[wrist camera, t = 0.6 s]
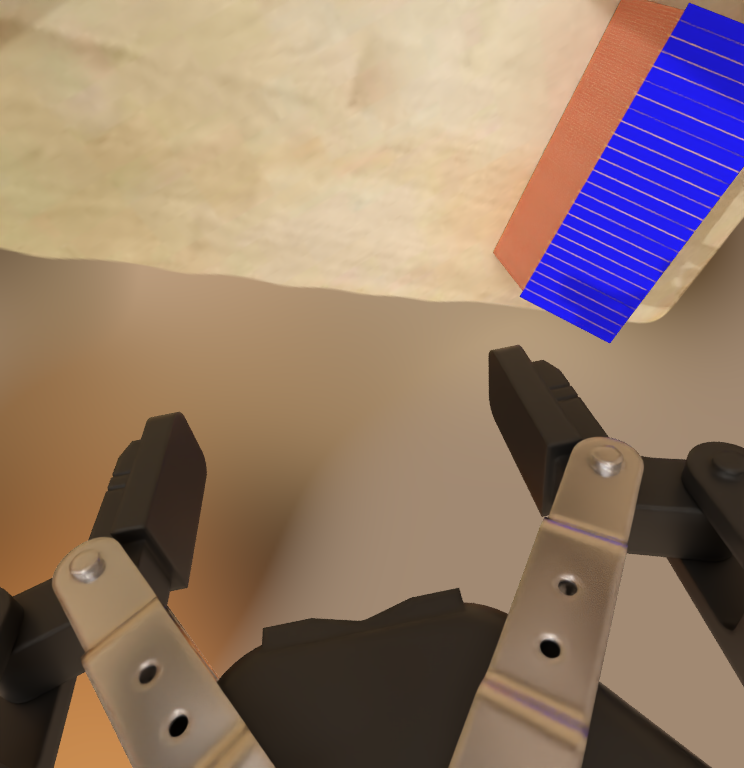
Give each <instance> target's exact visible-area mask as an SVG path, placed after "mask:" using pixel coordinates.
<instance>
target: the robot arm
mask: <svg viewBox="0 0 744 768" xmlns="http://www.w3.org/2000/svg"><path fill="white" fill-rule="evenodd" d="M489 401H490V406H491V411H492V414H493V417H494V419H495V422H496V424H497V426H498V428H499V430H500V432H501V434H502V436H503V438H504V440H505V442H506V444H507V446H508V448H509V450H510V452H511V455H512V457H513V459H514V461H515V463H516V464H517V467H518V469H519V471H520V473H521V475H522V477H523V479H524V481H525V483H526V485H527V487H528V489H529V491H530V493H531V496H532V497H533V500H534V502H535V504H536V506H537V508H538V510H539V512H540V514H541V516H542V517H543V516H547V515H549V516H548V518H547V517H545V518H544V519H543V521H542V523H541V526H540V528H539V531H538V533H537V536H536V539H535V542H534V545H533V547H532V550H531V553H530V556H529V558H528V561H527V564H526V566H525V569H524V572H523V575H522V578H521V580H520V583H519V586H518V589H517V591H516V594H515V597H514V600H513V602H512V605H511V608H510V611H509V613H508V614H507V613H505V612H502V611H500V610H498V609H495V608H492V607H488V606H485V605H480V604H475V603H464V602H463V600H462V597H461V593H460V590H459V588H456V589H451V590H446V591H441V592H436V593H432V594H427V595H422V596H417V597H412V598H409V599H407V600H405V601H403V602H401V603H399V604H397V605H395V606H393V607H391V608H389V609H387V610H385V611H383V612H381V613H379V614H377V615H375V616H373V617H370V618H368V619H366V620H362V621H351V620H350V621H349V620H333V619H315V618H311V619H305V620H301V621H296V622H291V623H286V624H281V625H276V626H271V627H266V628H263V637H262V638H263V639H262V645H261V646H259V647H257V648H255V649H254V650H252V651H250V652H249V653H247V654H246V655H244V656H243V657H242V658H240V659H239V660H238V661H237V662H235V663H234V664H233V665H232V666H231V667H230V668H229V669H228V670H227V671H226V672H225V673H224V674H223V675H222V676H221V678H219V677H218V675H217V674H216V673H215V671H214V670H213V668H212V667H211V666H210V665H209V663H208V662H207V660H206V659H205V657H204V656H203V655H202V653H201V652H200V651H199V649H198V648H197V646H196V645H195V643H194V642H193V641H192V639H191V638H190V636H189V635H188V634H187V632H186V631H185V629H184V628H183V627H182V625H181V624H180V622H179V621H178V620H177V618H176V617H175V615H174V614H173V613H172V611H171V610H170V609H169V607H168V606H167V602H168V598H169V593H170V591H174V590H178V589H184V588H187V587H188V582H189V576H190V570H191V565H192V559H193V553H194V547H195V540H196V535H197V529H198V523H199V517H200V511H201V506H202V500H203V494H204V488H205V482H206V475H207V474H206V473H207V471H206V462H205V458H204V455H203V452H202V450H201V449H200V447H199V444H198V442H197V441H196V439H195V437H194V435H193V433H192V431H191V429H190V427H189V425H188V423H187V421H186V419H185V417H184V415H183V414H182V413H180V412H176V413H171V414H166V415H161V416H157V417H151V418H149V419H148V420H147V422H146V426H145V428H144V432H143V435H142V438H141V440H136V441H132V442H131V443H130V445H129V446H128V447H127V448H126V449H125V451H124V452H123V453H122V454H121V456H120V457H119V458H118V461H117V464H116V466H115V469H114V472H113V477H112V478H111V480H110V483H109V485H108V491H107V492H106V493H105V496H104V499H103V502H102V504H101V507H100V510H99V513H98V515H97V518H96V521H95V523H94V526H93V529H92V532H91V535H90V537H89V540H88V541H86V542H84V543H82V544H81V545H79V546H77V547H76V548H74V549H73V550H72V551H70V552H69V554H67V555H66V556H65V557H64V558H63V560H62V561H61V562H60V563H59V565H58V566H57V568H56V570H55V572H54V575H53V578H51V579H49V580H47V581H45V582H43V583H41V584H39V585H37V586H34V587H32V588H30V589H28V590H26V591H24V592H22V593H20V594H17V595H15V596H13V597H12V596H11V595H10V594H9V593H8V592H7V591H5V590H4V589H2V588H1V587H0V768H54V764H55V760H56V757H57V753H58V749H59V745H60V741H61V737H62V733H63V729H64V725H65V721H66V717H67V713H68V710H69V706H70V702H71V698H72V694H73V690H74V686H75V682H76V678H77V676H78V675H80V674H82V673H84V672H86V674H87V676H88V677H89V680H90V681H91V683H92V686H93V688H94V690H95V692H96V693H97V696H98V698H99V700H100V702H101V704H102V706H103V708H104V710H105V712H106V714H107V716H108V718H109V720H110V722H111V724H112V726H113V728H114V730H115V732H116V734H117V736H118V738H119V740H120V743H121V745H122V747H123V749H124V751H125V753H126V755H127V757H128V758H129V761H130V763H131V765H132V767H133V768H712V767H710V766H709V765H707V764H706V763H705V762H704V761H702V760H701V759H700V758H698V757H697V756H696V755H695V754H693V753H692V752H690V751H689V750H688V749H687V748H685V747H684V746H683V745H681V744H680V743H679V742H678V741H676V740H675V739H674V738H672V737H671V736H670V735H668V734H667V733H666V732H665V731H663V730H662V729H661V728H659V727H658V726H657V725H655V724H654V723H653V722H651V721H650V720H649V719H648V718H646V717H645V716H644V715H642V714H641V713H640V712H638V711H637V710H636V709H635V708H633V707H632V706H630V705H629V704H628V703H627V702H625V701H624V700H623V699H622V698H620V697H619V696H618V695H616V694H615V693H614V692H612V691H611V690H610V689H609V688H607V687H606V686H605V685H603V684H602V683H601V682H599V679H600V674H601V670H602V665H603V661H604V656H605V651H606V647H607V642H608V637H609V632H610V627H611V623H612V618H613V614H614V609H615V605H616V600H617V595H618V591H619V586H620V581H621V577H622V572H623V567H624V563H625V558H626V553H629V554H639V555H649V556H661V557H667V559H668V561H669V562H670V564H671V566H672V567H673V569H674V571H675V572H676V574H677V576H678V577H679V579H680V581H681V582H682V584H683V586H684V587H685V589H686V591H687V592H688V594H689V596H690V597H691V599H692V601H693V602H694V604H695V606H696V608H697V609H698V611H699V612H700V614H701V616H702V618H703V619H704V621H705V623H706V624H707V626H708V628H709V629H710V631H711V633H712V634H713V636H714V638H715V639H716V641H717V642H718V644H719V646H720V647H721V649H722V651H723V653H724V654H725V656H726V658H727V659H728V661H729V663H730V664H731V666H732V668H733V669H734V671H735V673H736V674H737V676H738V678H739V679H740V681H741V683H742V685H743V686H744V448H742V447H740V446H737V445H734V444H729V443H724V442H707V443H702V444H700V445H697V446H695V447H694V448H693V449H692V450H691V451H690V452H689V454H688V457H687V459H686V460H683V459H662V458H650V457H643V456H640V455H639V453H638V452H637V451H636V450H635V449H634V448H632V447H631V446H630V445H628V444H626V443H625V442H622V441H620V440H617V439H613V438H609V437H608V435H607V434H606V433H605V431H604V430H603V429H602V427H601V426H600V425H599V423H598V422H597V420H596V419H595V418H594V416H593V415H592V413H591V412H590V411H589V409H588V408H587V407H586V405H585V404H584V402H583V401H582V400H581V398H580V397H578V394H577V393H576V392H575V390H574V389H573V387H572V386H570V384H569V382H568V380H567V379H566V378H565V376H564V375H563V374H562V372H561V371H560V370H559V369H557V368H556V367H554V366H553V365H551V364H549V363H548V362H546V361H544V360H540V361H535V362H531V360H530V359H529V358H528V356H527V354H526V353H525V351H524V350H523V349H522V347H521V346H520V345H515V346H510V347H505V348H500V349H495V350H491V351H490V352H489Z"/></svg>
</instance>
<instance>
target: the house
mask: <svg viewBox="0 0 744 768" xmlns="http://www.w3.org/2000/svg"><path fill="white" fill-rule="evenodd" d="M743 167H744V24H743V23H740V22H738V21H735V20H732V19H730V18H727V17H725V16H722V15H720V14H717V13H714V12H712V11H709V10H707V9H704V8H701V7H699V6H696V5H694V4H691V3H689V4H688V6H687V7H686V9H685V10H681V9H677V8H673V7H670V6H666V5H662V4H658V3H654V2H650V1H647V0H621V1H620V3H619V5H618V7H617V9H616V11H615V13H614V15H613V17H612V19H611V21H610V23H609V25H608V27H607V29H606V31H605V33H604V35H603V37H602V39H601V41H600V43H599V45H598V47H597V48H596V50H595V52H594V54H593V56H592V58H591V60H590V62H589V64H588V66H587V68H586V70H585V72H584V74H583V76H582V78H581V80H580V82H579V84H578V86H577V88H576V90H575V92H574V94H573V96H572V98H571V100H570V102H569V104H568V106H567V108H566V110H565V112H564V114H563V116H562V118H561V120H560V122H559V123H558V125H557V127H556V129H555V131H554V133H553V135H552V137H551V139H550V141H549V143H548V145H547V147H546V149H545V151H544V153H543V155H542V157H541V159H540V161H539V163H538V165H537V167H536V169H535V171H534V173H533V175H532V177H531V179H530V181H529V183H528V185H527V187H526V189H525V191H524V193H523V195H522V197H521V198H520V200H519V202H518V204H517V206H516V208H515V210H514V212H513V214H512V216H511V218H510V220H509V222H508V224H507V226H506V228H505V230H504V232H503V234H502V236H501V238H500V240H499V242H498V244H497V246H496V248H495V250H494V252H493V253H494V254H495V256H496V257H497V258H498V259H499V261H500V262H501V263H502V265H503V266H504V267H505V269H506V270H507V271H508V272H509V274H510V275H511V276H512V278H513V279H514V280H515V281H516V283H517V284H518V285H519V287H520V288H521V289H522V290H523V292H522V293H521V295H520V297H521V298H523V299H525V300H527V301H529V302H531V303H533V304H535V305H537V306H539V307H541V308H543V309H545V310H546V311H548V312H550V313H552V314H554V315H556V316H558V317H560V318H562V319H564V320H566V321H568V322H570V323H571V324H573V325H575V326H577V327H579V328H581V329H583V330H585V331H587V332H589V333H591V334H593V335H595V336H597V337H599V338H600V339H602V340H604V341H606V342H608V343H611V341H612V340H613V339H614V337H615V336H616V335H617V333H618V332H619V331H620V329H621V328H622V327H623V325H624V324H625V323H626V321H627V320H628V319H629V317H630V316H631V315H632V314H633V312H634V311H635V310H636V308H637V307H638V306H639V304H640V303H641V302H642V300H643V299H644V298H645V296H646V295H647V294H648V292H649V291H650V290H651V288H652V287H653V286H654V284H655V283H656V282H657V280H658V279H659V278H660V277H661V275H662V274H663V273H664V271H665V270H666V269H667V267H668V266H669V265H670V263H671V262H672V261H673V259H674V258H675V257H676V255H677V254H678V253H679V251H680V250H681V249H682V247H683V246H684V245H685V244H686V242H687V241H688V240H689V238H690V237H691V236H692V234H693V233H694V232H695V230H696V229H697V228H698V226H699V225H700V224H701V222H702V221H703V220H704V218H705V217H706V216H707V214H708V213H709V212H710V210H711V209H712V208H713V207H714V205H715V204H716V203H717V201H718V200H719V199H720V197H721V196H722V195H723V193H724V192H725V191H726V189H727V188H728V187H729V185H730V184H731V183H732V181H733V180H734V179H735V177H736V176H737V175H738V174H739V172H740V171H741V170H742V168H743Z"/></svg>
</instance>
